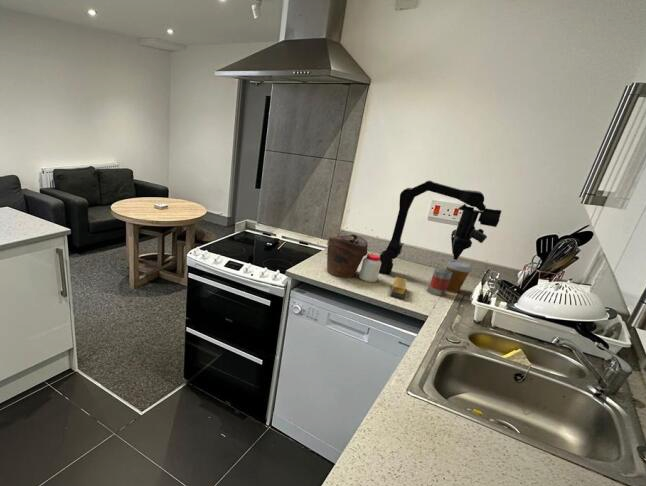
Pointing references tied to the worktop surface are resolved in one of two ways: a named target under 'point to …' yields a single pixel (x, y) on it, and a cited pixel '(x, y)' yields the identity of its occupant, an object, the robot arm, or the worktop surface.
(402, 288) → the golden brown bar
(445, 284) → the tin can
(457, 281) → the disposable coffee cup
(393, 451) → the worktop surface
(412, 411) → the worktop surface
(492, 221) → the robot arm
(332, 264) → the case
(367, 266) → the pill bottle
